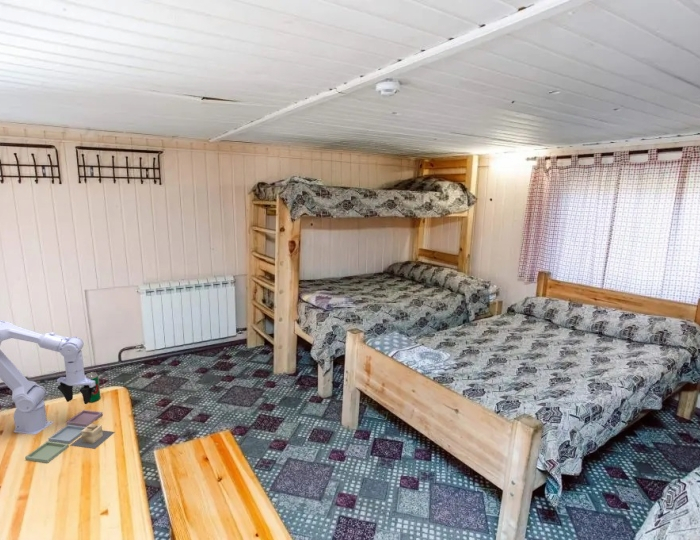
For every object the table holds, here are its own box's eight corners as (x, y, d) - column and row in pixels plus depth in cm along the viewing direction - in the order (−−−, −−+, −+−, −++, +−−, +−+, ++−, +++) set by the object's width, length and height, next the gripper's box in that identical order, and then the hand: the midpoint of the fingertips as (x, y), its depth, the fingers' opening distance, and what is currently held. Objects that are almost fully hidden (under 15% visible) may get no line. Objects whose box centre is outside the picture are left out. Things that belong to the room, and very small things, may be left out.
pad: (70, 446, 142) (69, 445, 142) (91, 429, 152) (91, 428, 152) (95, 449, 141) (95, 448, 141) (115, 432, 151) (115, 431, 150)
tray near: (25, 460, 134) (25, 457, 134) (47, 445, 142) (47, 441, 142) (48, 464, 133) (47, 460, 133) (68, 447, 141) (68, 444, 141)
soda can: (103, 397, 174) (100, 372, 172) (94, 403, 169) (92, 377, 167) (92, 396, 175) (89, 371, 172) (83, 402, 170) (81, 376, 167)
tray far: (66, 425, 154) (66, 421, 154) (83, 413, 162) (83, 409, 162) (86, 427, 153) (86, 424, 152) (102, 415, 161) (102, 412, 161)
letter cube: (82, 442, 144) (81, 430, 143) (91, 434, 148) (90, 423, 147) (93, 443, 144) (92, 432, 143) (102, 435, 148) (101, 425, 147)
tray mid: (48, 442, 144) (48, 438, 144) (68, 428, 152) (67, 424, 152) (69, 444, 143) (69, 441, 143) (88, 430, 151) (87, 427, 151)
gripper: (99, 366, 154) (103, 398, 157) (66, 363, 155) (70, 394, 158) (85, 375, 147) (89, 407, 150) (50, 371, 149) (55, 403, 151)
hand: (78, 401), depth 154 cm, fingers open, 7 cm apart
